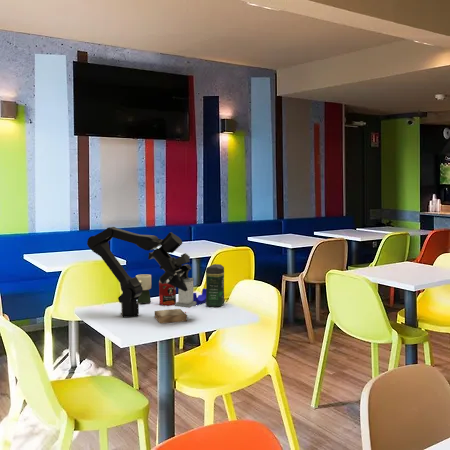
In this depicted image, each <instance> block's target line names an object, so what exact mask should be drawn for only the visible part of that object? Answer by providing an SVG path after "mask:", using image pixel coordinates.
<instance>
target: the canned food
mask: <svg viewBox="0 0 450 450" xmlns="http://www.w3.org/2000/svg"><path fill="white" fill-rule="evenodd" d="M168 282H169V279H168V280H167V281H166V283H165V284H162V283H161V282H160V279H159V281H158V292H159V293H158V297H159V299H158V300H159V305H160V306H163V305H164V307H165V306H166V307H168V306H175V303H177V287H175V286H172V285H170V284H167V283H168Z"/></svg>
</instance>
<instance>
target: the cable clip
mask: <svg viewBox="0 0 450 450" xmlns="http://www.w3.org/2000/svg"><path fill="white" fill-rule="evenodd" d="M193 301H195V302H196V305H197V306H199V304H200V305H203V304H206V288H202V292H201V294H199V295H198V296H197V292H193ZM196 305H194V306H193V307H197V306H196Z"/></svg>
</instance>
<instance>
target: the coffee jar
mask: <svg viewBox="0 0 450 450" xmlns="http://www.w3.org/2000/svg"><path fill="white" fill-rule="evenodd" d="M205 278H206V279H205V280H206V283H205V284H206V285H205V289H206V303H205V305H206V306H208V307H212V308H215V307H222V306H223V305H224V304H225V266H223V265H222V264H217V263H215V264H211V265H209V266H208V267H206V268H205Z"/></svg>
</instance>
